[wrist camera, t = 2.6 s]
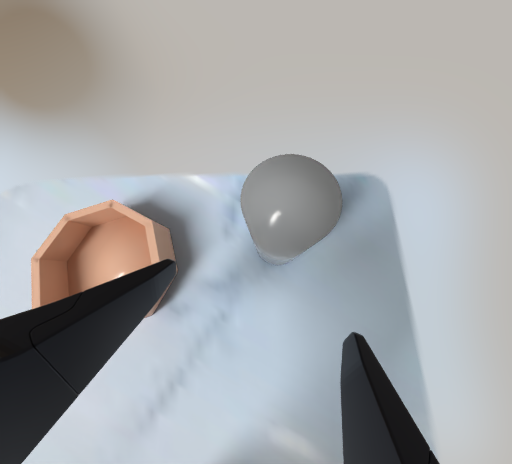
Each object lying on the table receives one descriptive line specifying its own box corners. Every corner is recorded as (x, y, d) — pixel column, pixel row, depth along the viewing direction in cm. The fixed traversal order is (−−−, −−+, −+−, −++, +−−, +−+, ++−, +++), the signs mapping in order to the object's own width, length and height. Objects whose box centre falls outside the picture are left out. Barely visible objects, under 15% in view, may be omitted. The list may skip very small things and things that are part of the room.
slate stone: (306, 257, 21) (359, 228, 9) (263, 271, 21) (257, 261, 9) (290, 216, 22) (318, 142, 10) (250, 229, 22) (229, 170, 10)
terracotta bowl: (184, 304, 20) (168, 310, 17) (72, 341, 20) (32, 354, 17) (163, 201, 23) (146, 189, 20) (65, 232, 23) (30, 225, 20)
